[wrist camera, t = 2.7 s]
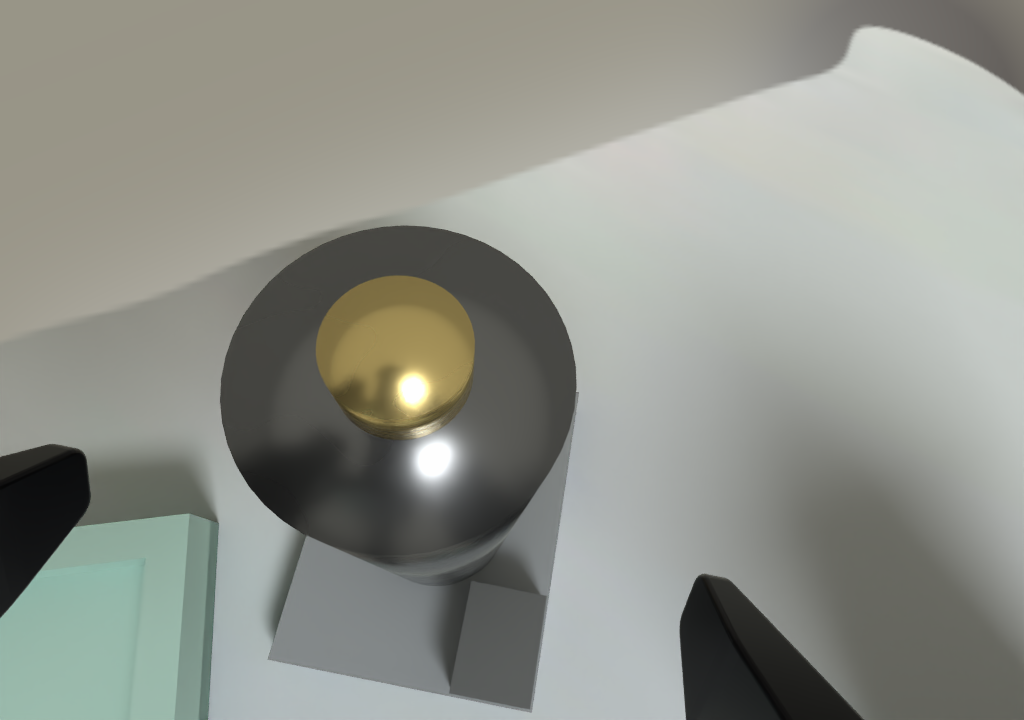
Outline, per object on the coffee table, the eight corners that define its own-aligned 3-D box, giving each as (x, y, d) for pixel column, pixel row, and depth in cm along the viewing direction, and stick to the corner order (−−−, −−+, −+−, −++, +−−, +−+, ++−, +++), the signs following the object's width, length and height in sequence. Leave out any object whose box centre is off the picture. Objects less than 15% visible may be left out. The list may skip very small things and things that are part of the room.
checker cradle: (527, 706, 16) (559, 757, 11) (278, 656, 16) (182, 681, 11) (573, 402, 20) (615, 322, 14) (369, 362, 20) (331, 266, 14)
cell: (427, 618, 16) (349, 652, 5) (340, 504, 17) (111, 318, 6) (535, 519, 17) (669, 368, 6) (449, 418, 18) (428, 130, 7)
